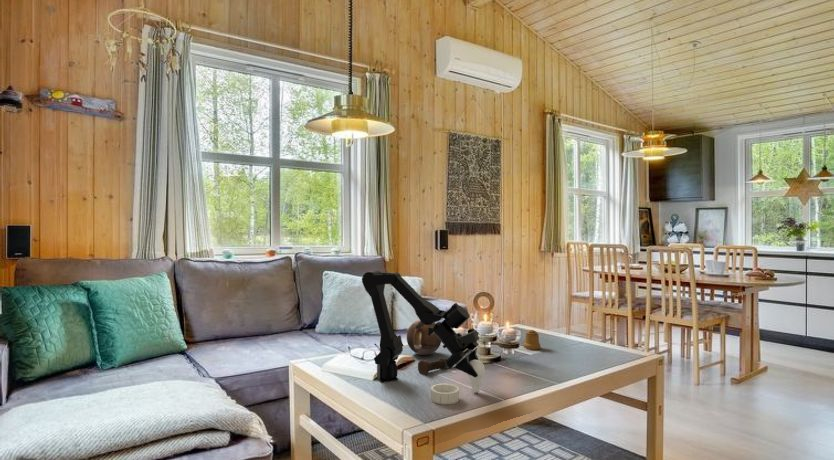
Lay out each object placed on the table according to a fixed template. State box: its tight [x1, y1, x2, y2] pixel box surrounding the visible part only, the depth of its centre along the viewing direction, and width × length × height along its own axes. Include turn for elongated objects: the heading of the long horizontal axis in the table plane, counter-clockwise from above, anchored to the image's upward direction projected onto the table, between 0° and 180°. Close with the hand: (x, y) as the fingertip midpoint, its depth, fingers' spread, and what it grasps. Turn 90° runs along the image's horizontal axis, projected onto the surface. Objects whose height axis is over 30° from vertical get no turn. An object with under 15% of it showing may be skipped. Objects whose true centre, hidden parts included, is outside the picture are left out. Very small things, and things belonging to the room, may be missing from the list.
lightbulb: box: [467, 359, 486, 394], centre depth 161 cm, size 6×6×11 cm
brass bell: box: [523, 329, 541, 351], centre depth 218 cm, size 8×8×8 cm
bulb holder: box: [430, 383, 460, 406], centre depth 155 cm, size 9×9×4 cm
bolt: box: [417, 357, 449, 376], centre depth 185 cm, size 6×5×15 cm
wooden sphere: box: [406, 319, 442, 356], centre depth 206 cm, size 15×15×15 cm
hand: (479, 373), depth 161 cm, fingers open, 6 cm apart
